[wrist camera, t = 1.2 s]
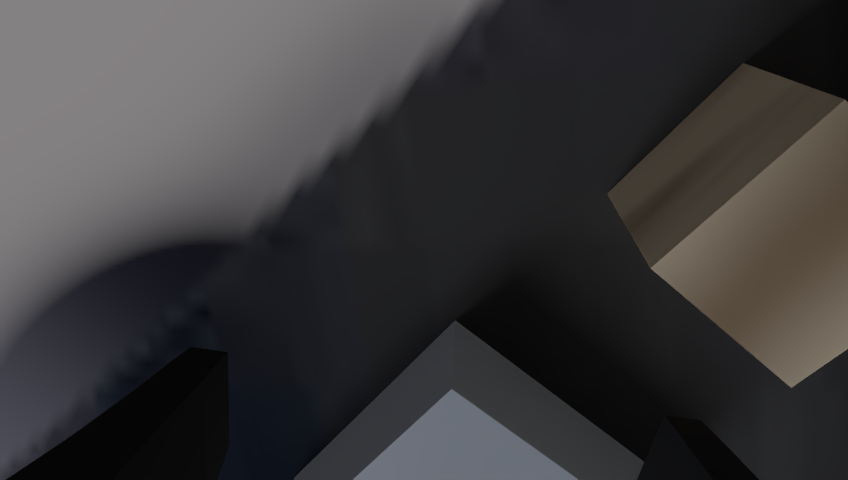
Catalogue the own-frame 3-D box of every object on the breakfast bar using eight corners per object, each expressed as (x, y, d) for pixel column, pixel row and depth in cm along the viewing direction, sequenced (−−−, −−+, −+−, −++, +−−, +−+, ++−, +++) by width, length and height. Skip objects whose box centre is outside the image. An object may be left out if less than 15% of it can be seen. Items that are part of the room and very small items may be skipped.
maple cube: (855, 176, 17) (989, 250, 13) (716, 288, 19) (791, 387, 15) (742, 62, 16) (845, 99, 12) (606, 193, 18) (650, 268, 14)
